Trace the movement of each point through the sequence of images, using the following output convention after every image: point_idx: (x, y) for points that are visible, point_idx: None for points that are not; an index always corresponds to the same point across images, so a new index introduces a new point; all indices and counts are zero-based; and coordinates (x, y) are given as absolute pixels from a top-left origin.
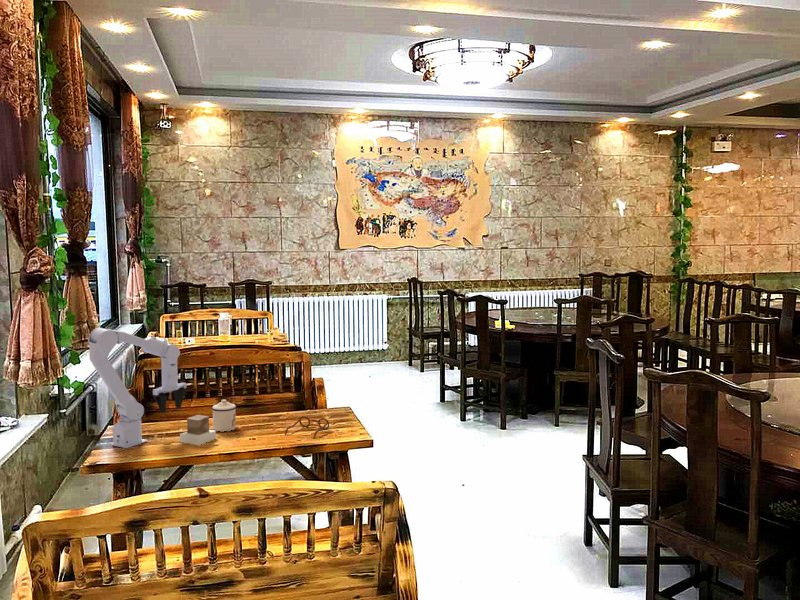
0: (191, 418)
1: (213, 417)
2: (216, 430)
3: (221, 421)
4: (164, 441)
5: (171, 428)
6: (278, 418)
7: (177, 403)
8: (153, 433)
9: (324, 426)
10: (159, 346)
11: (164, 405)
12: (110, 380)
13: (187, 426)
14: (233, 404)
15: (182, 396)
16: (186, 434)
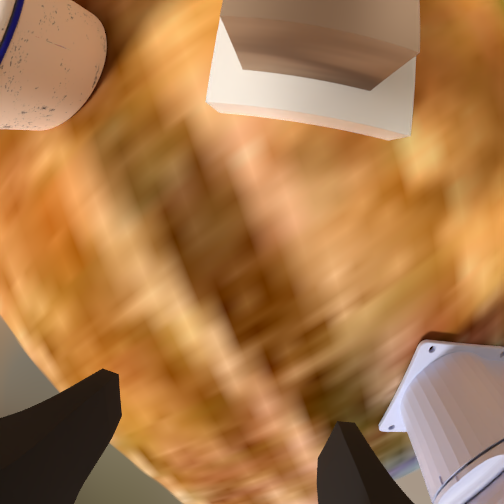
0: (398, 2)
1: (38, 80)
2: (102, 64)
3: (71, 12)
4: (400, 251)
5: (151, 365)
6: None
7: (96, 431)
8: (268, 400)
9: None
10: None
11: (384, 483)
12: None
13: (387, 73)
14: None
15: (9, 440)
16: (404, 78)
